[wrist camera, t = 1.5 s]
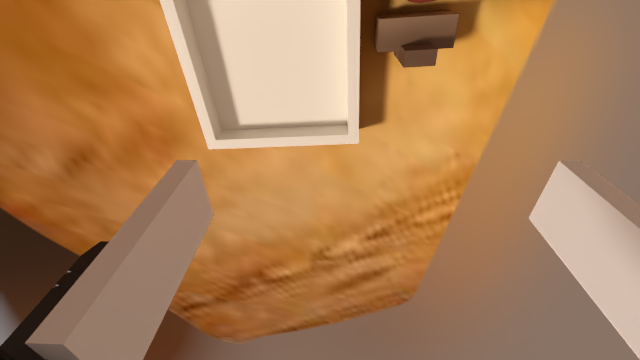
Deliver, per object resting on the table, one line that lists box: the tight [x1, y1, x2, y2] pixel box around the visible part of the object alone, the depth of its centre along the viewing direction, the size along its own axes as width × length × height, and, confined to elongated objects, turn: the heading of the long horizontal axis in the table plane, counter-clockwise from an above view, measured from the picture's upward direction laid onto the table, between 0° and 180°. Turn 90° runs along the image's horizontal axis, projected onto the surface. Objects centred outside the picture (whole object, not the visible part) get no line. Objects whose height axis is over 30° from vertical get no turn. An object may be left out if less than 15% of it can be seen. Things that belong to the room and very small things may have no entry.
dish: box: [160, 0, 360, 149], centre depth 26 cm, size 15×15×3 cm
